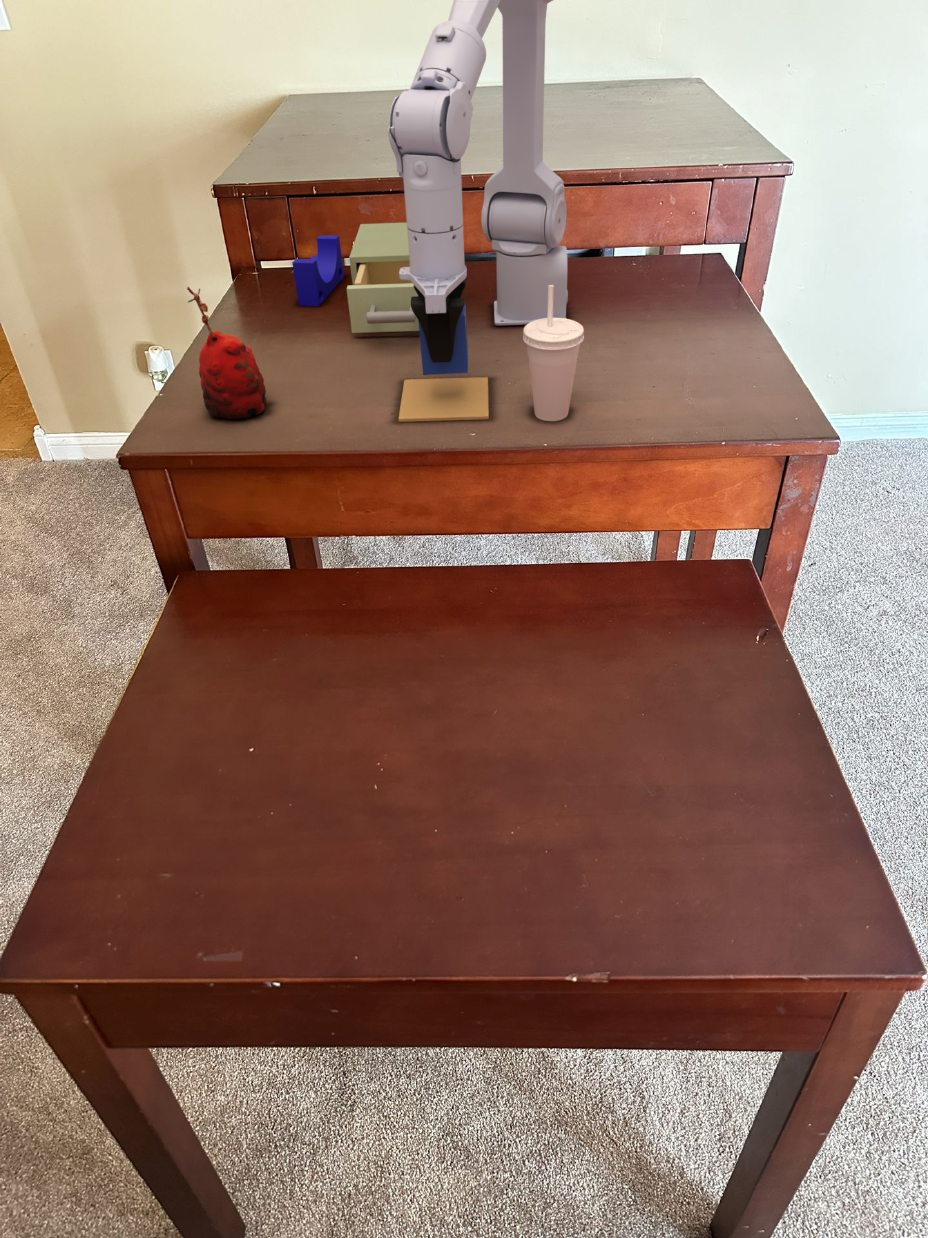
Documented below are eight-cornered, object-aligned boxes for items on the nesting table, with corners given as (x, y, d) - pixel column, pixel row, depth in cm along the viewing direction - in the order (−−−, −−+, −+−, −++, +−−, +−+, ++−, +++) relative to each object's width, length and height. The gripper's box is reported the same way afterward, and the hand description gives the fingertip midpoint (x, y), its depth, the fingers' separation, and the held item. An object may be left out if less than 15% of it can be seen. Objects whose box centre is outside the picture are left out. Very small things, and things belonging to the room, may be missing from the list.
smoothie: (552, 394, 103) (556, 271, 94) (592, 414, 99) (599, 287, 90) (510, 412, 100) (510, 286, 91) (549, 432, 96) (553, 303, 87)
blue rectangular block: (468, 360, 102) (465, 303, 98) (467, 373, 99) (464, 315, 95) (424, 362, 102) (419, 305, 98) (423, 375, 99) (417, 317, 95)
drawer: (437, 342, 114) (435, 297, 110) (348, 345, 114) (342, 300, 110) (442, 292, 127) (439, 250, 123) (362, 295, 127) (357, 253, 124)
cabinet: (445, 309, 124) (442, 253, 120) (355, 312, 125) (349, 256, 120) (448, 273, 136) (446, 220, 131) (366, 276, 136) (360, 223, 131)
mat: (488, 379, 107) (488, 376, 107) (488, 419, 99) (488, 416, 99) (404, 382, 107) (404, 379, 107) (398, 421, 99) (398, 418, 99)
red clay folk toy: (281, 410, 103) (256, 278, 93) (228, 431, 99) (197, 296, 90) (245, 390, 107) (218, 262, 98) (193, 410, 104) (160, 279, 94)
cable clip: (316, 275, 137) (310, 234, 133) (344, 276, 136) (339, 235, 132) (289, 304, 128) (282, 262, 124) (318, 306, 127) (312, 262, 123)
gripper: (400, 205, 96) (410, 328, 105) (390, 249, 85) (402, 382, 94) (465, 203, 96) (470, 326, 105) (464, 246, 85) (469, 380, 94)
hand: (442, 353), depth 100 cm, fingers closed on blue rectangular block, 3 cm apart
